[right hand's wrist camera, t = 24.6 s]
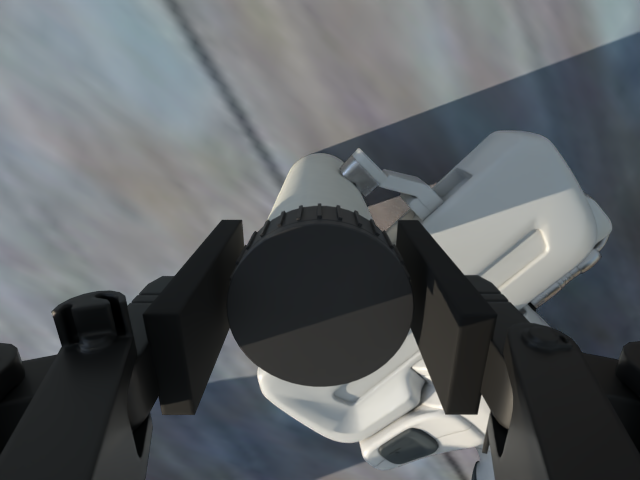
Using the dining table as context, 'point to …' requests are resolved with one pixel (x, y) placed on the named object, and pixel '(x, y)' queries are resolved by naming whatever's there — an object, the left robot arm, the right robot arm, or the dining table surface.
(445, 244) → the left robot arm
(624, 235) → the dining table surface
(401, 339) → the lid
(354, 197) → the jar
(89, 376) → the right robot arm
